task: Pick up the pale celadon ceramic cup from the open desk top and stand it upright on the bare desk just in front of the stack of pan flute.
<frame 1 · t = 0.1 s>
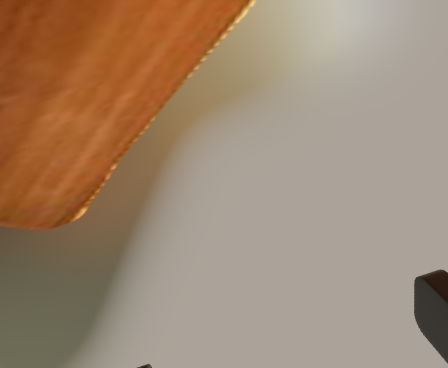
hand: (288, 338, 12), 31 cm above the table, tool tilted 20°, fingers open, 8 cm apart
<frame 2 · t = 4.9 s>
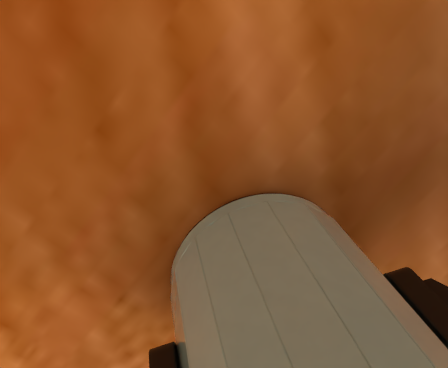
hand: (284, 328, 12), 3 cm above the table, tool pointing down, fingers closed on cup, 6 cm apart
cup: (259, 272, 14), on the table, touching gripper
when the fingers open (3 cm above the table, at t = 11.5 s): cup stays where it is, on the table.
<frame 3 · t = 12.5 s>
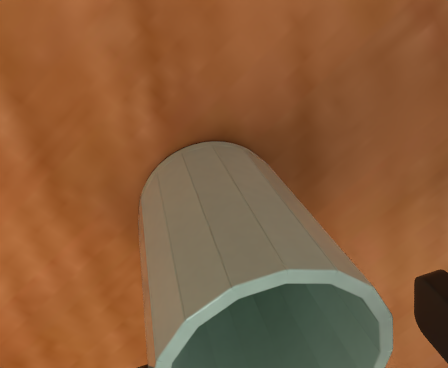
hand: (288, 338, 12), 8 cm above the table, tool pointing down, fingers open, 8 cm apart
cup: (210, 208, 18), on the table, touching gripper
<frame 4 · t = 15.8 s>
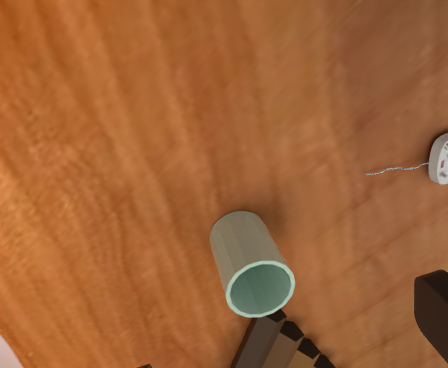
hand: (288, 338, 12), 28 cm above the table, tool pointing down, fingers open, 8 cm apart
game controller: (413, 158, 44), on the table
cup: (238, 236, 44), on the table
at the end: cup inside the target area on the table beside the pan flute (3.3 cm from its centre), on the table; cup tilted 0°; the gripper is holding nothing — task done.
